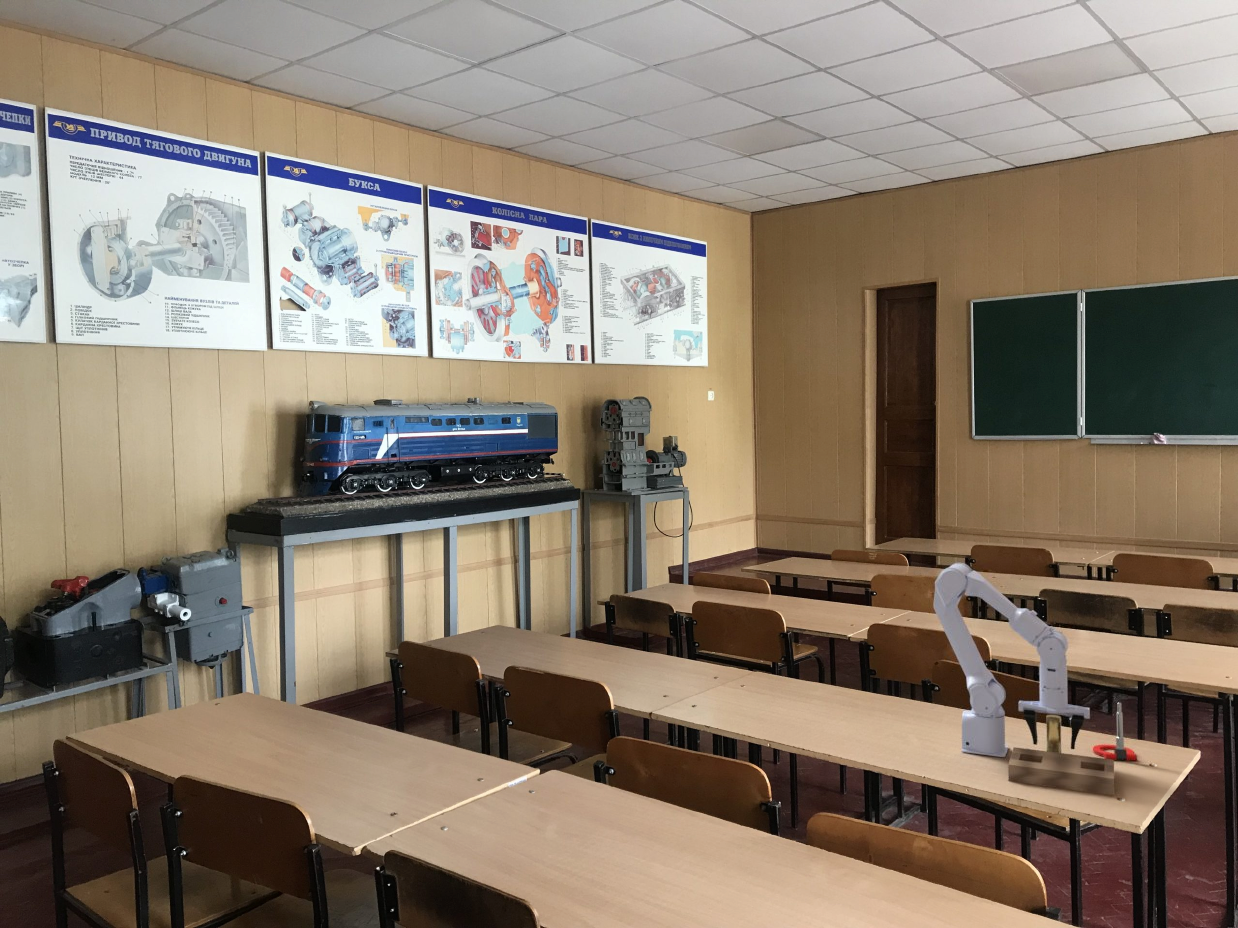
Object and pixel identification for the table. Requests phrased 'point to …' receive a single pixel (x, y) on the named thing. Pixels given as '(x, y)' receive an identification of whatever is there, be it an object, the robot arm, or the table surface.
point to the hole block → (1062, 770)
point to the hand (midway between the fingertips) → (1053, 745)
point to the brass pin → (1053, 733)
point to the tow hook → (1117, 744)
